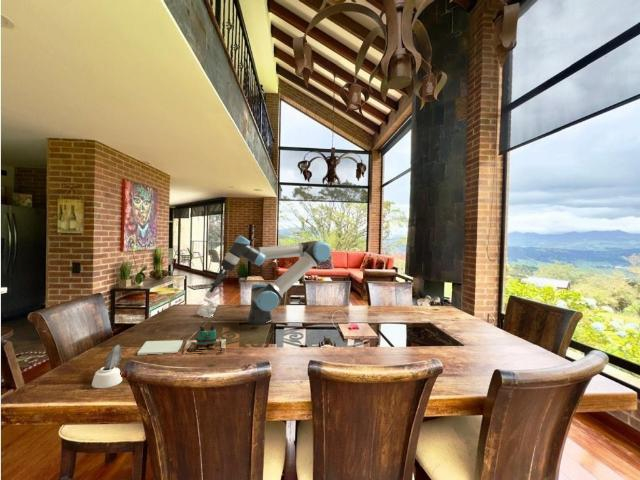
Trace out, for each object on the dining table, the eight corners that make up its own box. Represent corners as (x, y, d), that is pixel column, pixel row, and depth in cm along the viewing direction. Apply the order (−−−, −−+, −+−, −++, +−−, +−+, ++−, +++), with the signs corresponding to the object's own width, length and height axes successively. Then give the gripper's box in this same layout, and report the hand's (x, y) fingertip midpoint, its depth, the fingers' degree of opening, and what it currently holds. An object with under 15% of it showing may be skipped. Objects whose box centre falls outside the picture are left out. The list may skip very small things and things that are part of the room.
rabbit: (218, 315, 210) (219, 297, 210) (210, 319, 201) (211, 300, 201) (200, 314, 213) (201, 295, 212) (192, 317, 203) (193, 298, 203)
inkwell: (87, 390, 110) (88, 360, 110) (103, 368, 127) (104, 342, 127) (119, 387, 113) (120, 358, 113) (130, 366, 130) (131, 340, 130)
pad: (182, 342, 159) (182, 340, 159) (177, 353, 145) (177, 351, 145) (146, 343, 155) (146, 341, 155) (137, 355, 141) (137, 352, 141)
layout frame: (225, 340, 165) (225, 339, 165) (224, 352, 149) (225, 351, 149) (187, 341, 161) (187, 340, 161) (182, 354, 144) (182, 353, 144)
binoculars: (214, 322, 162) (218, 325, 153) (213, 344, 161) (217, 349, 152) (194, 323, 158) (197, 327, 149) (194, 346, 157) (196, 351, 148)
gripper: (224, 258, 193) (204, 290, 189) (222, 258, 169) (199, 295, 165) (235, 264, 194) (216, 296, 191) (235, 265, 170) (212, 302, 166)
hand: (208, 296), depth 178 cm, fingers open, 13 cm apart
